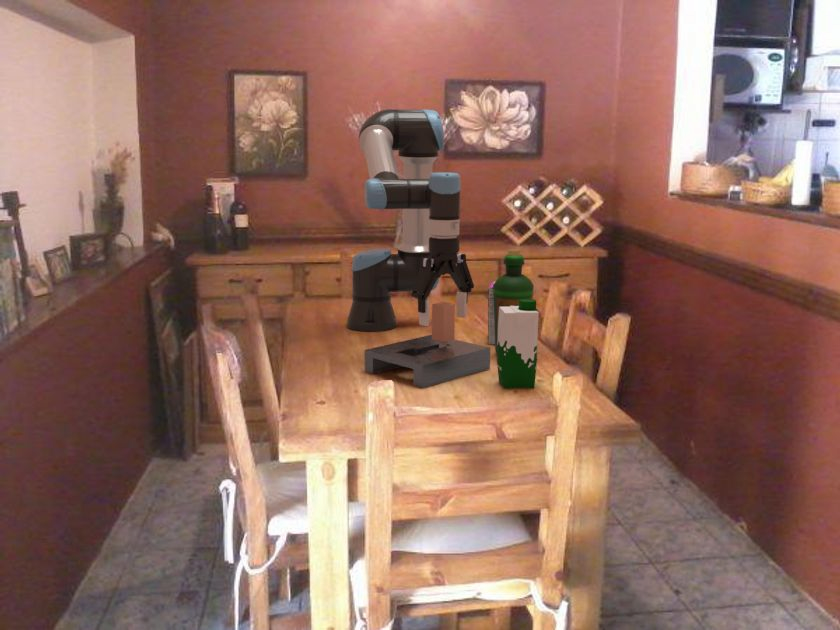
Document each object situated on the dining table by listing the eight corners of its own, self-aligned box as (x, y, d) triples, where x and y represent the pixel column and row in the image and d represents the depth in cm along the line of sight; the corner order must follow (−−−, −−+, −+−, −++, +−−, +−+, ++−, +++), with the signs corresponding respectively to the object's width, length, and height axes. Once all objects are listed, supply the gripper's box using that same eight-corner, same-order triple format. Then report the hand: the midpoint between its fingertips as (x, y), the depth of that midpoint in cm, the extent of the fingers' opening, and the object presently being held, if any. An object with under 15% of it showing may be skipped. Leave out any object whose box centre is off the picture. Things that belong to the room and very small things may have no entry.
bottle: (505, 361, 217) (508, 253, 211) (484, 352, 226) (486, 249, 221) (539, 357, 222) (543, 251, 216) (517, 348, 231) (519, 247, 225)
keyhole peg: (429, 366, 212) (429, 303, 209) (442, 362, 216) (442, 301, 213) (443, 369, 209) (443, 306, 206) (456, 366, 212) (457, 304, 209)
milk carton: (539, 389, 193) (542, 303, 189) (500, 390, 192) (502, 304, 188) (531, 378, 202) (533, 296, 198) (493, 379, 201) (495, 297, 197)
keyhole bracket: (364, 371, 207) (364, 349, 206) (432, 354, 224) (432, 334, 223) (422, 388, 193) (422, 365, 192) (489, 368, 210) (490, 347, 209)
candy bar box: (491, 335, 246) (492, 280, 242) (508, 336, 245) (509, 281, 242) (486, 344, 235) (487, 287, 232) (504, 345, 234) (505, 287, 231)
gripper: (419, 242, 195) (418, 331, 199) (488, 233, 212) (486, 316, 216) (396, 239, 200) (396, 326, 204) (466, 231, 217) (465, 311, 222)
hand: (443, 321), depth 210 cm, fingers open, 13 cm apart
